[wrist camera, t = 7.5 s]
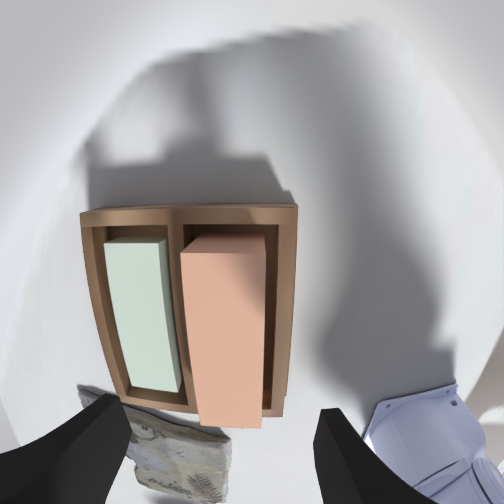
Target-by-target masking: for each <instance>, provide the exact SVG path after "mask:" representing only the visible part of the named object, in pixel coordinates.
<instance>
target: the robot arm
mask: <svg viewBox="0 0 504 504" xmlns="http://www.w3.org/2000/svg"><path fill="white" fill-rule="evenodd" d="M458 388H459V385H458V384H453V385H449V386H446V387H442V388H438V389H435V390H431V391H427V392H423V393H419V394H414V395H410V396H405V397H400V398H395V399H390V400H385V401H381V402H379V403H378V405H377V407H376V409H375V412H374V415H373V417H372V420H371V422H370V425H369V427H368V429H367V432H366V434H365V437H364V439H362V438H361V437H360V435H359V434H358V433H357V432H356V430H355V429H354V428H353V426H352V425H351V424H350V422H349V421H348V420H347V418H346V417H345V415H344V414H343V413H342V411H341V410H340V409H339V408H331V409H321V413H320V417H319V421H318V425H317V429H316V433H315V437H314V441H313V449H314V459H315V468H316V472H317V477H318V481H319V486H320V490H321V494H322V499H323V503H324V504H504V478H503V476H502V475H501V473H500V472H499V470H498V469H497V467H496V466H495V465H494V463H493V462H492V461H491V460H490V459H489V458H488V457H483V455H484V452H485V448H486V439H485V434H484V430H483V428H482V426H481V425H480V423H479V422H478V421H477V419H476V418H475V417H474V415H473V414H472V413H471V411H470V410H469V409H468V407H467V406H466V405H465V403H464V402H463V401H462V399H461V398H460V397H459V396H458V394H457V393H456V392H457V390H458ZM131 435H132V428H131V426H130V423H129V421H128V418H127V416H126V413H125V411H124V408H123V405H122V403H121V400H120V397H119V396H115V395H111V394H107V393H105V394H104V395H102V396H101V397H100V398H98V399H97V400H96V401H94V402H93V403H92V404H90V405H89V406H87V407H86V408H85V409H83V410H82V411H81V412H79V413H78V414H77V415H75V416H74V417H72V418H71V419H70V420H68V421H67V422H65V423H64V424H62V425H61V426H59V427H58V428H56V429H54V430H53V431H51V432H50V433H48V434H46V435H45V436H43V437H41V438H39V439H37V440H35V441H33V442H31V443H29V444H27V445H24V446H22V447H19V448H17V449H14V450H11V451H8V452H5V453H1V454H0V504H105V502H106V498H107V496H108V493H109V491H110V488H111V486H112V484H113V482H114V479H115V477H116V475H117V473H118V470H119V468H120V466H121V464H122V461H123V459H124V457H125V455H126V452H127V449H128V446H129V442H130V439H131ZM374 452H375V453H376V454H375V453H374Z"/></svg>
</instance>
